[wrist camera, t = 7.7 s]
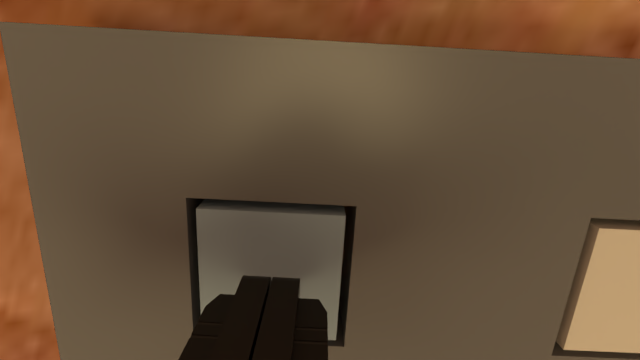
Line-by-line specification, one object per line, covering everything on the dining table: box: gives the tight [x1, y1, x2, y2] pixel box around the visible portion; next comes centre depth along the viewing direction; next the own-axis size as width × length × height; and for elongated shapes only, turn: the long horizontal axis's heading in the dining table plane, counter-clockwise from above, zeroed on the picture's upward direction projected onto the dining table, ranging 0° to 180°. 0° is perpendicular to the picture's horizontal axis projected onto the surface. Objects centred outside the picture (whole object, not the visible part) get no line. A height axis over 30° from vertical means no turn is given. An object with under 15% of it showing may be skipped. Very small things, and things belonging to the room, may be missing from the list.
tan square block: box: [556, 218, 640, 353], centre depth 13 cm, size 4×4×2 cm
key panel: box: [0, 22, 640, 360], centre depth 13 cm, size 26×14×4 cm, turn 87°
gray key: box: [196, 199, 346, 340], centre depth 12 cm, size 4×4×2 cm
